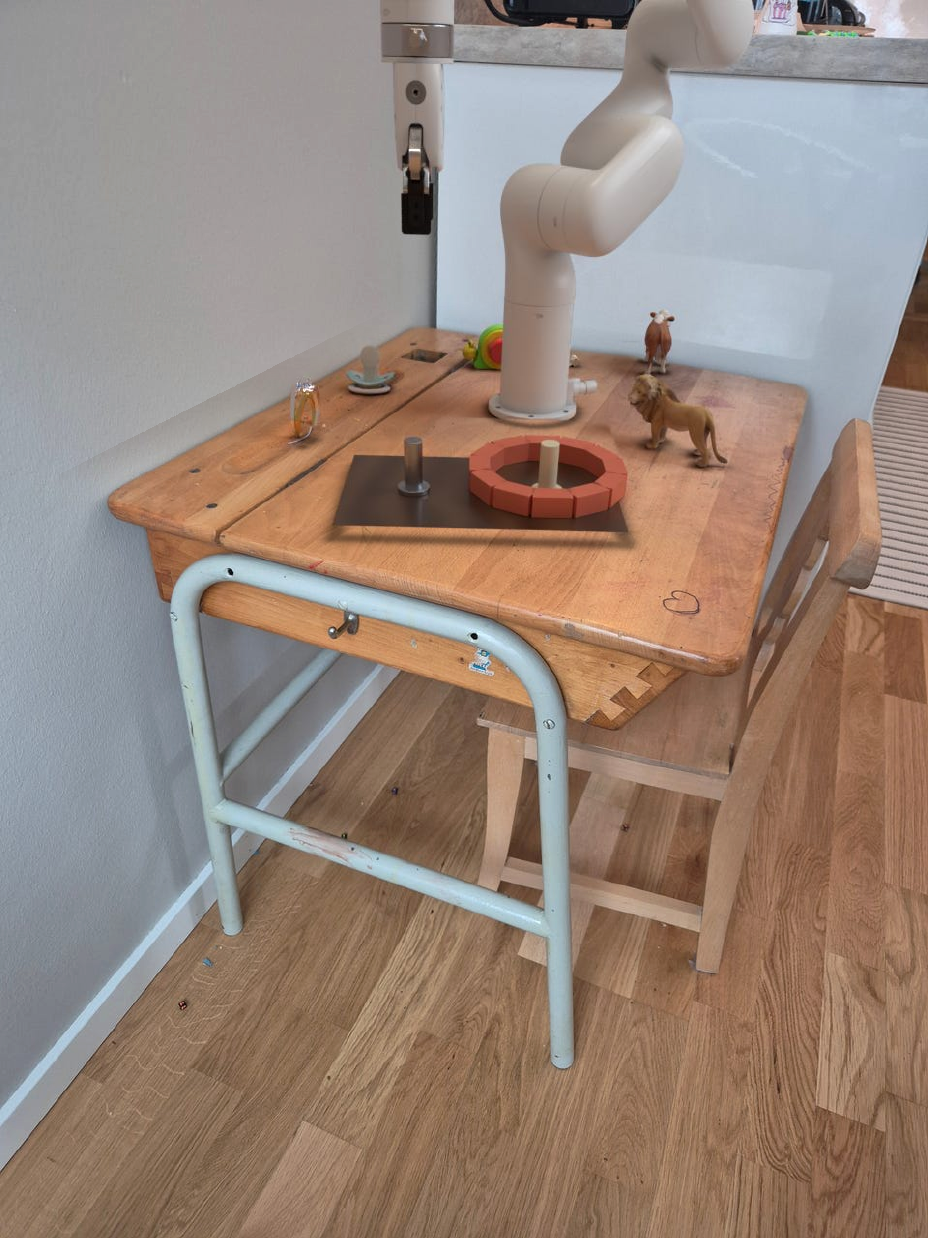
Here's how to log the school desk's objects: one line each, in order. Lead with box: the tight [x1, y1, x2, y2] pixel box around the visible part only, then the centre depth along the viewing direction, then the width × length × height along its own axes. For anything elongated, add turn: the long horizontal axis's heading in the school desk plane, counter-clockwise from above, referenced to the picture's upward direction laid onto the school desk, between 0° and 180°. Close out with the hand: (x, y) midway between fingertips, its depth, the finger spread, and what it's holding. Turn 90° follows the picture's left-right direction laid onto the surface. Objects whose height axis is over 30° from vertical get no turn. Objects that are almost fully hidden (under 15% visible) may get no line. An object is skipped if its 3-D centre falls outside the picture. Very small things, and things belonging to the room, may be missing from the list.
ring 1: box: [289, 378, 322, 439], centre depth 111 cm, size 7×3×8 cm, turn 160°
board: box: [332, 454, 629, 533], centre depth 98 cm, size 31×19×2 cm, turn 89°
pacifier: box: [345, 345, 396, 395], centre depth 129 cm, size 7×6×6 cm
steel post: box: [398, 436, 430, 497], centre depth 95 cm, size 4×4×6 cm
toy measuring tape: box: [461, 323, 580, 370], centre depth 140 cm, size 6×20×7 cm, turn 96°
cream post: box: [532, 440, 562, 489], centre depth 95 cm, size 4×4×6 cm
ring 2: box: [468, 434, 629, 518], centre depth 99 cm, size 18×18×2 cm
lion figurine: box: [627, 373, 728, 468], centre depth 110 cm, size 15×5×9 cm, turn 50°
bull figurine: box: [642, 309, 675, 375], centre depth 141 cm, size 4×13×8 cm, turn 167°
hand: (418, 226), depth 98 cm, fingers open, 9 cm apart
